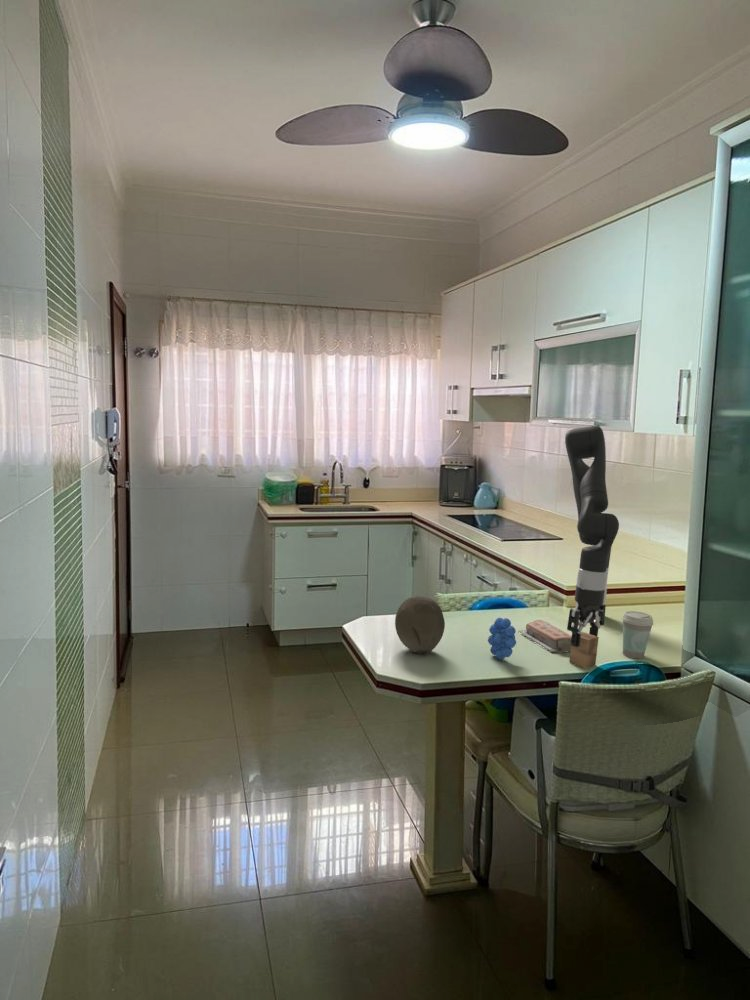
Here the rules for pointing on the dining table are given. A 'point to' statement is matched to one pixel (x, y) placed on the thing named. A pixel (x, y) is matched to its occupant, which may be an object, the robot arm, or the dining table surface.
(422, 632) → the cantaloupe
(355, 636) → the dining table surface
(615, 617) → the dining table surface
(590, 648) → the walnut block
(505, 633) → the grapes
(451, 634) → the dining table surface
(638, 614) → the coffee cup
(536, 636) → the packaged product
